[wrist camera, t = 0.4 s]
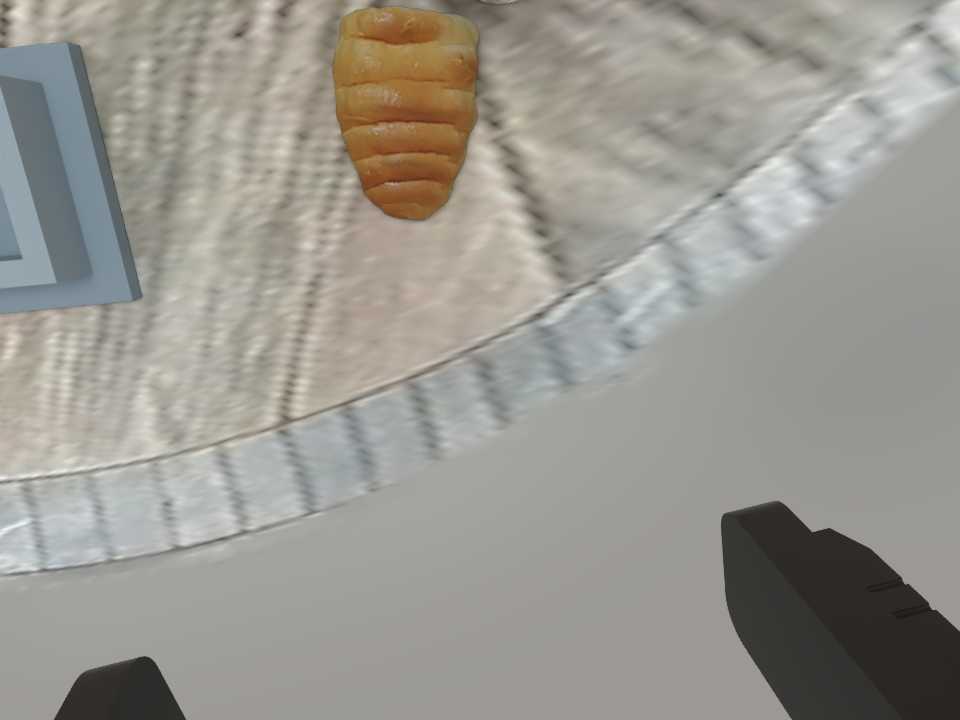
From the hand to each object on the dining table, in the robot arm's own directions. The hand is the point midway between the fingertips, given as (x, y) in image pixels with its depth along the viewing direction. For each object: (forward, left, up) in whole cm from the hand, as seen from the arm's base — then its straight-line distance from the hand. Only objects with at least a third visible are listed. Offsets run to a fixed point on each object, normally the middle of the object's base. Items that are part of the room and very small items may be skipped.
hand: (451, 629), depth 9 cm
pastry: (-9, -1, -27) cm, 28 cm away
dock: (-7, -23, -26) cm, 35 cm away
